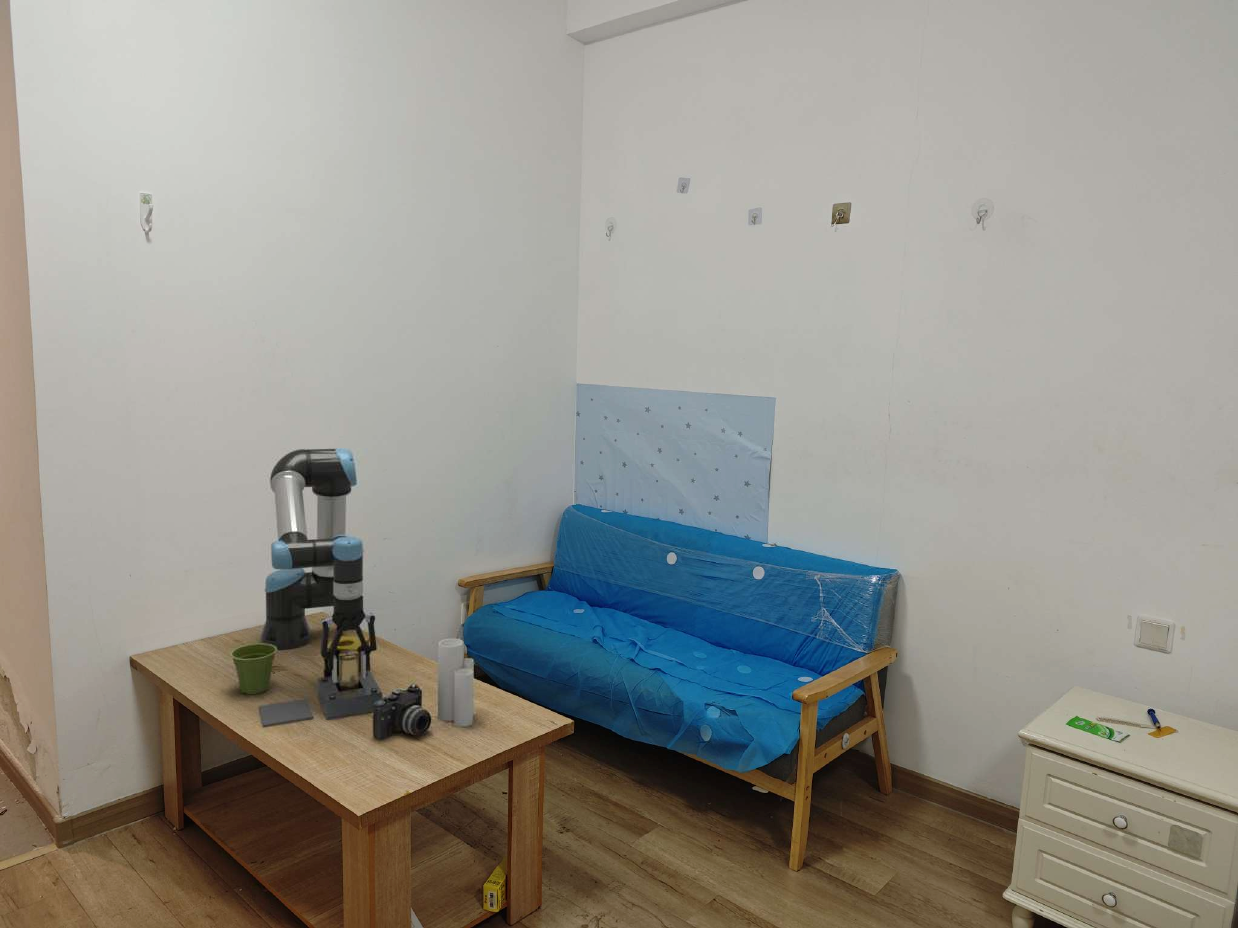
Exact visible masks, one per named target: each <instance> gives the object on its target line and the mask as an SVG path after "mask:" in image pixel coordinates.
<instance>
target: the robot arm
mask: <svg viewBox="0 0 1238 928" xmlns="http://www.w3.org/2000/svg"><path fill="white" fill-rule="evenodd" d="M355 465H356V464H355V460H354V455H353V452H352V451H351V450H350V449H346V448H314V449H313V448H312V449H307V448H306V449H305V448H303V449H302V448H301V449H296V450H293V451H290V452H289V453H287V454H285V455H284V456H282V457H281V458H280V459H279V460H278V461H277V462H276V464H275V465H274V466H273V469H272V470H271V473H270V478H269V483H270V489H271V490H272V492H273V493H274V503H275V514H276V515H275V517H276V531H277V541H273V542H272V543H271V545H270V549H271V551H270V555H271V556H270V557H271V567H272V568H273V570H274V569H275V571H273V572H271V573H270V574H268V575H267V577H266V579H265V588H264V592H265V622H264V625H263V629H262V631H261V634H260V643H265V644H271V645H274V646H276V647H277V650H288V649H289V650H290V649H294V648H298V647H303V646H305V645H306V644H308V643H310V642H311V641H312V633H311V631H312V630H311V629H310V626H309V624H308V620H307V618H306V610H307V609H318V608H329V607H333V614H332V616H331V617H329V618H322V619H321V622H320V623H321V626H322V632H321V644H320V656H321V658H323V659H324V658H328V668H329V670H332V680H333V682H334V683H335V682H337V659H336V657H335V652H336V649H337V647H338V644H339V641H340V638H341V636H343V634H344V632H347V631H355V632H356V635H357V637H359V640H360V642H361V644H362V647H363V649H364V651H363V652H361V675H362V677H363V678H366V665H369V663H370V664H371V662H370V661H371V656H370V655H371V653H372V652H375V651H377V650H378V649H377V648H378V647H377V640H376V630H375V622H376V616H375V615H374V613H372V612H371V613H365V612H364V595H363V594H364V576H363V575H364V574H363V572H364V568H363V567H364V565H363V564H364V547H363V546H364V544H363V540H362V539H361V538H360V537H356V536H348V535H347V534H346V526H347V525H346V524H347V523H346V521H347V519H346V517H347V497H348V495H350V494H351V492H352V487H355V486H357V482H358V480H357V478H358V477H357V473H356V471H357V469H356V466H355ZM305 488H311V491H312V494H314V495H315V496H316V498H317V500H316V502H317V504H316V505H317V506H316V509H317V510H316V511H317V512H316V514H317V515H316V527H317V528H316V539H308V531H307V523H306V522H307V521H306V513H305V504H304V503H305V502H304V495H303V491H304V489H305ZM307 568H311V571H310V572H309V571H308V572H307V571H305V569H307ZM364 620H365V622H366V623H367V629H368V636H369V637H368V638H369V646H368V645H367V643H366V640H365V638H366V637H365V636H364V633H363V631H362V628H361V626H360V625H361V624H362V623H363V621H364ZM333 623H334V625H335V626H336V628H335V632H334V635H333V638H332V640H331V641H332V643H331V646H330V648H329V651H328V652H327V646H328V643H329V635H330V627H332V624H333Z"/></svg>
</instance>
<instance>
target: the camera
mask: <svg viewBox="0 0 1238 928" xmlns="http://www.w3.org/2000/svg"><path fill="white" fill-rule="evenodd" d="M420 688H421V687H420V686H419V685H417V684H410V685H409V686H408V687H407V688H406V689H404V688H400V687H398V689H396V690H393V691H391V694H390V695H388V697H387V695H385V694H384V695H382V699H379V700H378V701H376V702H375V703H374V705H373V712H372V736H373V738H374V739H375V740H377V741H381V740H383V739H385V738H387V737H388V738H389V737H390V736H392V735H394V734H396V733H398V732H400V731H404V732H405V733H407V734H411V735H414V736H420V735H423V734H425V733H426V732H427V731H428V730H429V728H430V727H431V724H432V716H431V713H430V712H429V711H428V710H427V709H426V708H424V707H422V706H423V703H422V701H423V700H422V699H423V690H422V689H420Z"/></svg>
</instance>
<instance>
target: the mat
mask: <svg viewBox="0 0 1238 928" xmlns="http://www.w3.org/2000/svg"><path fill="white" fill-rule="evenodd" d="M258 710H259V714H260V719H261V725H262V727H263V728H266V727H272V726H278V725H279V726H280V725H284V724H285V725H286V724H290V723H297V722H302V721H310V720H313V719H314V714H313V712H312V708H311V706H310V703H309V701H308V698H301V699H296V700H295V699H294V700H290V701H289V700H288V701H284V702H283V701H281V702H277V703H270V704H264V705H258Z"/></svg>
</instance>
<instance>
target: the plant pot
mask: <svg viewBox="0 0 1238 928" xmlns="http://www.w3.org/2000/svg"><path fill="white" fill-rule="evenodd" d="M277 651H278V649H277V647H276V646H274V645H271V644H265V643H261V642H259V643H250V644H244V645H241V646H238V647H236V648H234V649H233V650H232V651H230V654H229V655H230V657H231V659H232V661H233V665H234V666H235V669H236V675H237V679H238V682H239V688H240V691H241V693H242V694H243V693H245V694H247V695H255V694H256V695H257V694H261V693H264V692H265V691H267V690H269V688H270V683H271V677H272V676H271V675H272V669H273V663H274V659H275V655H276V653H277Z"/></svg>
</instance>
